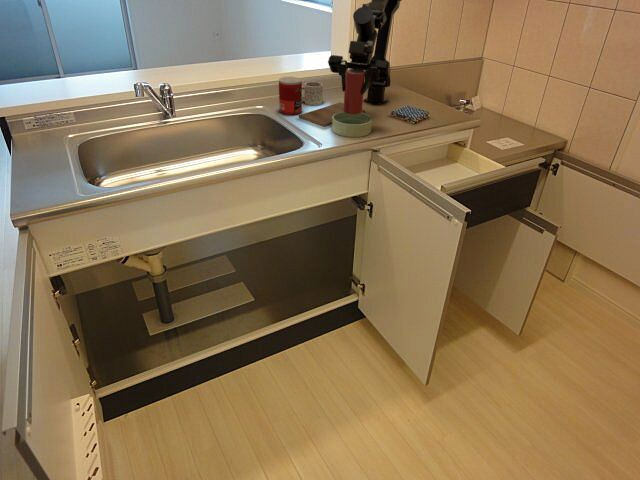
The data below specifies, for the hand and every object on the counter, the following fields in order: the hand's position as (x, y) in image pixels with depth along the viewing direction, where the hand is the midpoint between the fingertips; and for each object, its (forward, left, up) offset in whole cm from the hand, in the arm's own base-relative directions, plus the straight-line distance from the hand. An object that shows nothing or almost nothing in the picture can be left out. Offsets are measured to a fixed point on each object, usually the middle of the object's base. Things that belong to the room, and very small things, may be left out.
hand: (352, 92), depth 133 cm
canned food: (0, -28, -13) cm, 31 cm away
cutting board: (-7, -14, -13) cm, 20 cm away
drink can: (-1, -1, -6) cm, 6 cm away
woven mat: (-27, +4, -13) cm, 30 cm away
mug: (-12, -31, -13) cm, 35 cm away
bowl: (-1, -1, -13) cm, 13 cm away
